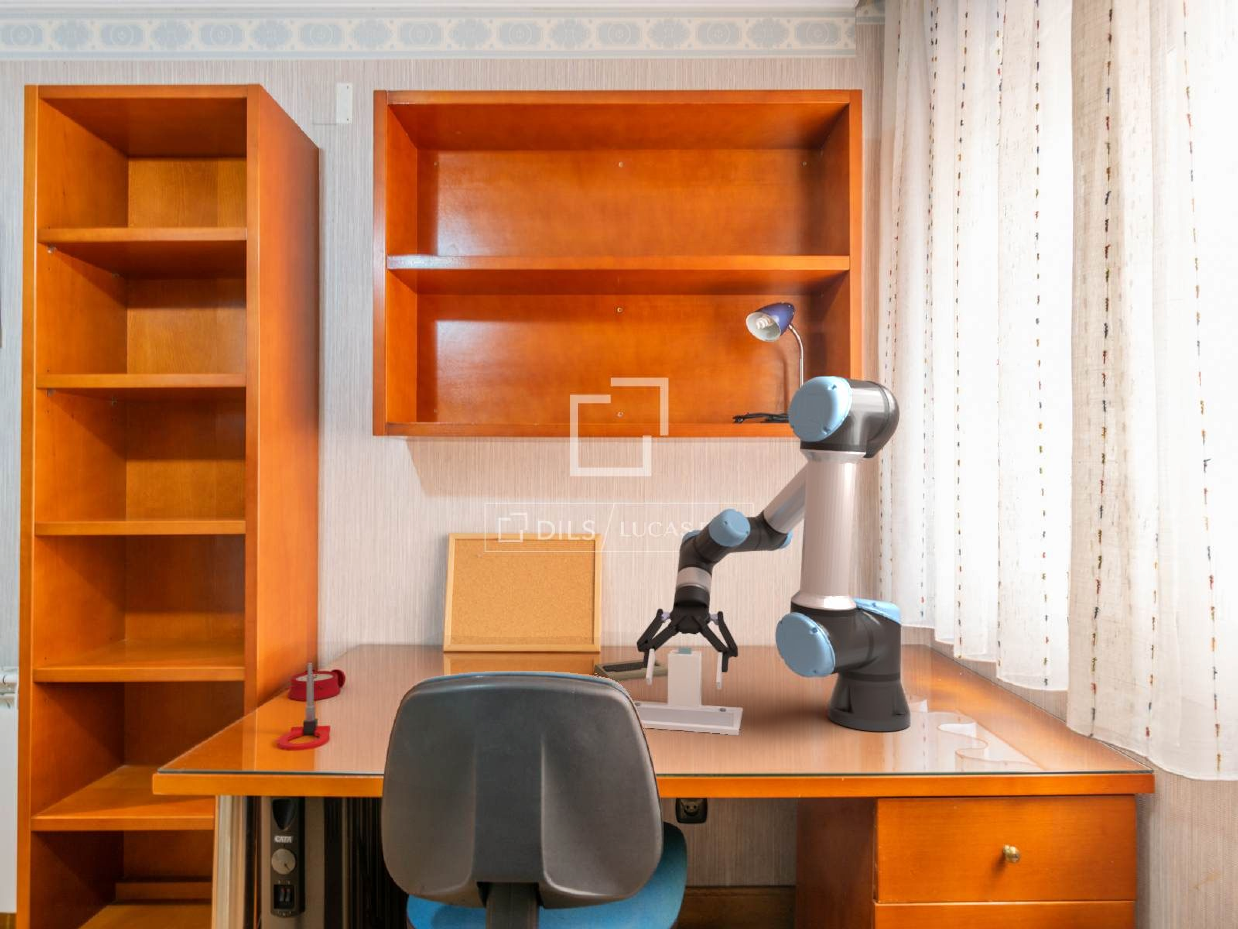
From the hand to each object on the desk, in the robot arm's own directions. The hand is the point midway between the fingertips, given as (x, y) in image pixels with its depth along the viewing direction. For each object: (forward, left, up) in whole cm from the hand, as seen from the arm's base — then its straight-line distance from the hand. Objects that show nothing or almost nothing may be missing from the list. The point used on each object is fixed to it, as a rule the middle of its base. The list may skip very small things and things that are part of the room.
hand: (683, 683), depth 151 cm
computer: (+16, -31, -7) cm, 36 cm away
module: (0, -2, -6) cm, 6 cm away
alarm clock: (+79, -1, -7) cm, 79 cm away
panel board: (0, +1, -7) cm, 7 cm away
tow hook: (+63, +28, -7) cm, 69 cm away
